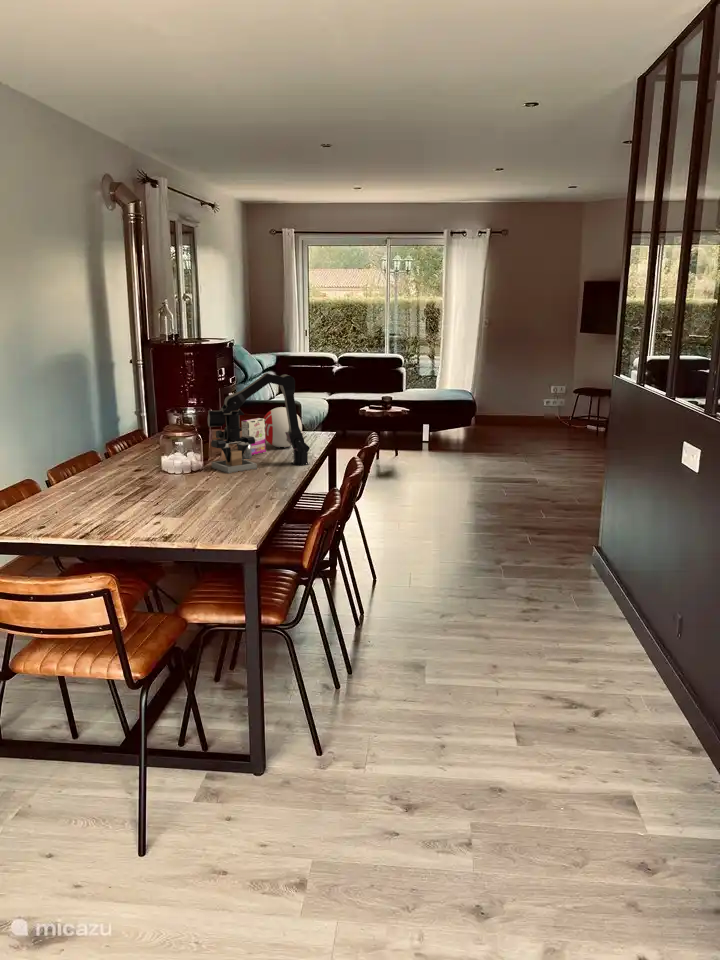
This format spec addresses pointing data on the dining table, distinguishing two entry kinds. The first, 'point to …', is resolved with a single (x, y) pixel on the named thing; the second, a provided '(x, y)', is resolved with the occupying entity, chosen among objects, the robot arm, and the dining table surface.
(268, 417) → the decorative sphere
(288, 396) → the robot arm
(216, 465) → the charcoal tray
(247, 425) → the candy bar box
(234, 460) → the walnut block
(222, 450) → the tan block
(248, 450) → the steel cylinder
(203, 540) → the dining table surface
